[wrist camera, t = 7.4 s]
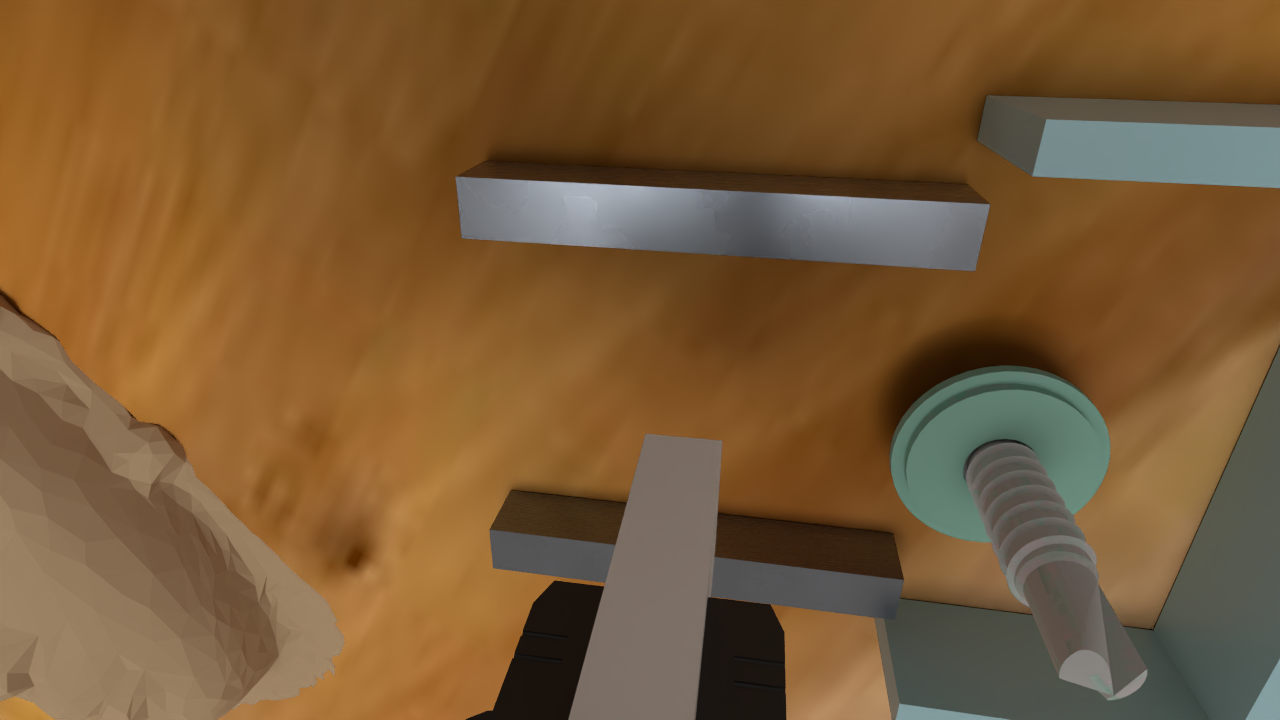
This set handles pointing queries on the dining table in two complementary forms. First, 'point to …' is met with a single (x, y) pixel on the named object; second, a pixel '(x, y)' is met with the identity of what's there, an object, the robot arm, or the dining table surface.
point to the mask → (131, 562)
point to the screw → (1022, 503)
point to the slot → (737, 226)
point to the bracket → (1233, 524)
